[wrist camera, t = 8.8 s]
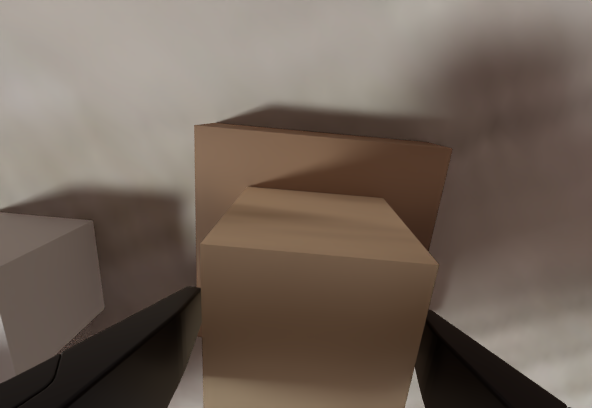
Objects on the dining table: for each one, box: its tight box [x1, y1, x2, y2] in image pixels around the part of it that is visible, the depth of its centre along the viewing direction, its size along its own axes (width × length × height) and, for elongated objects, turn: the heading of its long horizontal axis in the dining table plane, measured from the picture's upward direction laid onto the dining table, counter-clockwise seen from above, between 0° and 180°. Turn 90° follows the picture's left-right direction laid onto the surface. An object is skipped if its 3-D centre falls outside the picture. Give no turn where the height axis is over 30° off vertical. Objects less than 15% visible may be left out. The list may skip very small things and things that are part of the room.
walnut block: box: [194, 123, 452, 337], centre depth 13 cm, size 9×9×3 cm
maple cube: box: [200, 187, 439, 408], centre depth 9 cm, size 5×5×5 cm
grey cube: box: [0, 212, 105, 383], centre depth 13 cm, size 5×5×5 cm
